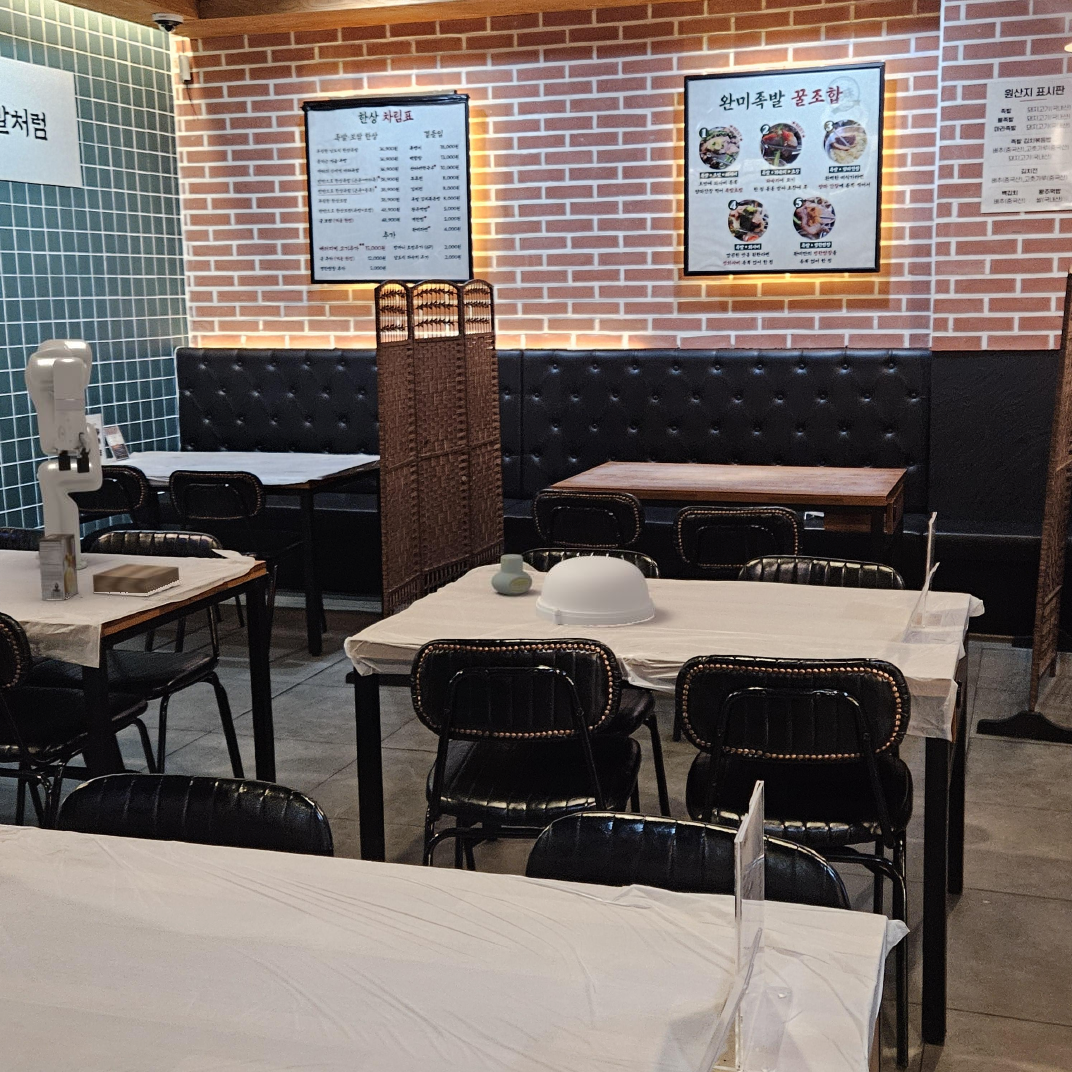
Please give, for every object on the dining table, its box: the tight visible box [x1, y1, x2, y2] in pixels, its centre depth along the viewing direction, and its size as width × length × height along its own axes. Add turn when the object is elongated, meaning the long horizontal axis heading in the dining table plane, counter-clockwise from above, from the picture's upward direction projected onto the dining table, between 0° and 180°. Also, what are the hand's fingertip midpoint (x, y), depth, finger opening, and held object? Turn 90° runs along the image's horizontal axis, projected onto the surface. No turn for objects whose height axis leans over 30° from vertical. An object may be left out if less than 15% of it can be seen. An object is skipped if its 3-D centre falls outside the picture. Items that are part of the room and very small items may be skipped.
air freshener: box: [490, 553, 533, 596], centre depth 352 cm, size 11×8×10 cm
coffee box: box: [37, 534, 79, 601], centre depth 345 cm, size 9×6×16 cm
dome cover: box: [534, 555, 656, 626], centre depth 329 cm, size 32×30×14 cm
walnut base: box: [92, 563, 180, 593], centre depth 356 cm, size 16×16×5 cm
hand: (74, 471), depth 346 cm, fingers open, 9 cm apart
